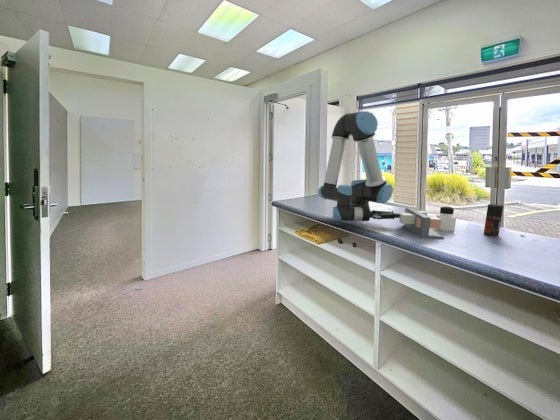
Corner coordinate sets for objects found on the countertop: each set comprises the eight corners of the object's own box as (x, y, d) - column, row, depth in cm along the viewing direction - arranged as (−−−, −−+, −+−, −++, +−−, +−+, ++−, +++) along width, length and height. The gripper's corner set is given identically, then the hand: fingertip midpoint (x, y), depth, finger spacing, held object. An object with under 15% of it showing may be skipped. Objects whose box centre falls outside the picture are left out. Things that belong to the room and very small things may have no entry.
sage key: (407, 220, 151) (408, 212, 151) (404, 218, 156) (405, 210, 155) (426, 220, 151) (427, 212, 150) (422, 219, 155) (423, 210, 154)
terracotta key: (419, 228, 136) (420, 218, 135) (416, 225, 140) (417, 216, 139) (440, 228, 135) (441, 219, 134) (436, 226, 139) (437, 217, 139)
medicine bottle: (454, 231, 147) (457, 208, 145) (439, 230, 148) (442, 207, 146) (449, 227, 154) (452, 206, 151) (435, 227, 155) (437, 205, 153)
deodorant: (484, 232, 145) (488, 203, 142) (498, 234, 141) (503, 205, 138) (483, 235, 140) (487, 205, 137) (498, 237, 136) (503, 206, 133)
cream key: (402, 223, 144) (402, 215, 143) (399, 221, 148) (400, 213, 148) (421, 224, 143) (422, 215, 142) (418, 222, 148) (419, 213, 147)
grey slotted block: (421, 238, 134) (423, 217, 132) (403, 225, 159) (405, 207, 157) (443, 238, 134) (446, 218, 132) (422, 225, 158) (424, 207, 156)
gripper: (358, 218, 162) (401, 219, 160) (363, 223, 150) (409, 225, 148) (359, 205, 161) (402, 206, 159) (364, 209, 148) (411, 211, 146)
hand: (406, 215), depth 153 cm, fingers closed
